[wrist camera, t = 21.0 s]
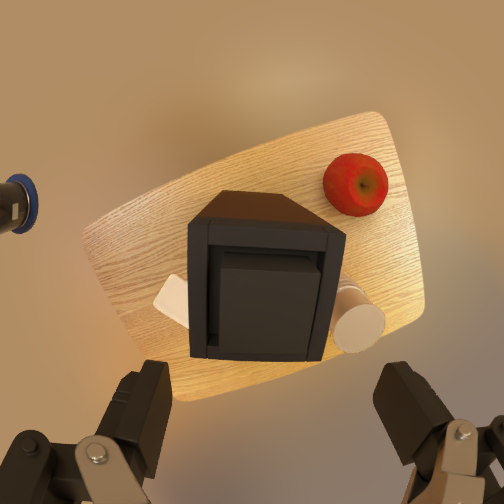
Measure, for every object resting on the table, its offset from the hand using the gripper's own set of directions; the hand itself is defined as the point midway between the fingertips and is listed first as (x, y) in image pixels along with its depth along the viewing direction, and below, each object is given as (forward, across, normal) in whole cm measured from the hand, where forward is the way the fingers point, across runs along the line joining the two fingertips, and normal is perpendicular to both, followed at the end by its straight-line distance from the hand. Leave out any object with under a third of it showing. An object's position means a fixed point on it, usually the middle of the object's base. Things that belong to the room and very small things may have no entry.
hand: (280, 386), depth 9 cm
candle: (+34, -13, +9) cm, 37 cm away
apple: (+34, -13, -7) cm, 37 cm away
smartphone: (+34, +7, +16) cm, 38 cm away
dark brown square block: (+8, 0, 0) cm, 9 cm away
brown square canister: (+34, 0, 0) cm, 34 cm away
